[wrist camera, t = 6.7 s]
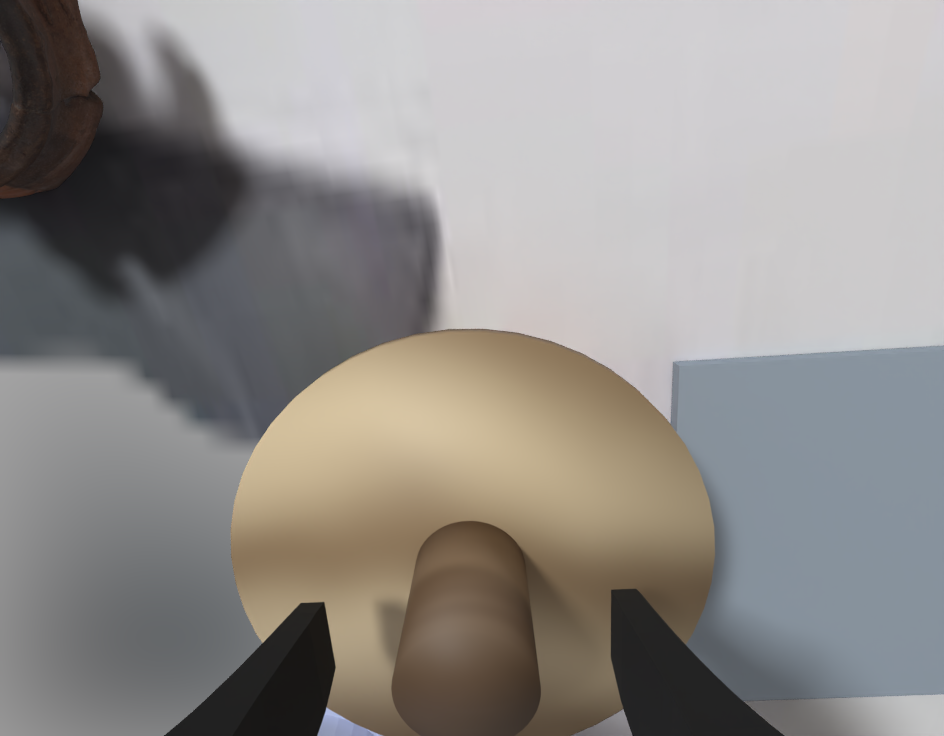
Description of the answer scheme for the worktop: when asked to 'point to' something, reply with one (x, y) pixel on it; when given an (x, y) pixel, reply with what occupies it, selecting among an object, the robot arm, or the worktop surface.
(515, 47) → the worktop surface
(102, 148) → the worktop surface
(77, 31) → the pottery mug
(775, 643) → the rubber mat
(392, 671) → the oak lid
